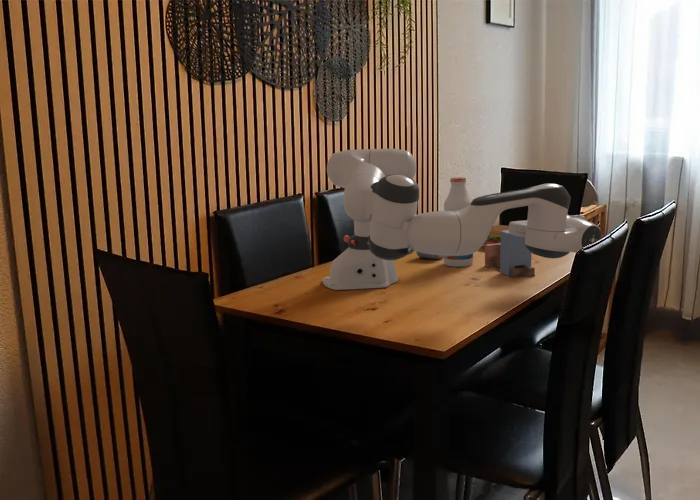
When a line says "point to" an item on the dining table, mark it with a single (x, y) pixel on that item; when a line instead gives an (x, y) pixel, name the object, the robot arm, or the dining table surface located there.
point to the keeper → (513, 253)
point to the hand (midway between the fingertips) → (531, 222)
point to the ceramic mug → (428, 255)
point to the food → (495, 234)
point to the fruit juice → (453, 203)
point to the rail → (494, 261)
